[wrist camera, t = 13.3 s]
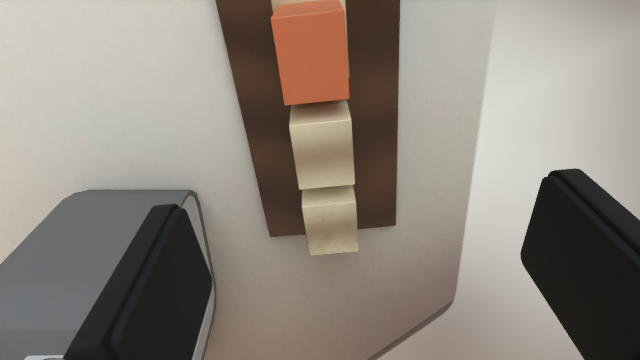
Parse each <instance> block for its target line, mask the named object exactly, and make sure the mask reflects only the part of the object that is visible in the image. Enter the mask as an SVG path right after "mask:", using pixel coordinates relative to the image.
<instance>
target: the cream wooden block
mask: <svg viewBox="0 0 640 360" xmlns="http://www.w3.org/2000/svg"><path fill="white" fill-rule="evenodd" d="M289 130H290V136H291V142H292V148H293V155H294V161H295V167H296V174H297V180H298V186H299V190H302V189H312V188H322V187H333V186H343V185H353V184H355V174H354V156H353V138H352V121H351V116H350V112H349V108H348V104H347V100H346V99H343V100H333V101H324V102H314V103H305V104H295V105H291V112H290V122H289Z"/></svg>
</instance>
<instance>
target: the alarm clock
mask: <svg viewBox="0 0 640 360" xmlns="http://www.w3.org/2000/svg"><path fill="white" fill-rule="evenodd" d="M164 204H178V205H179V207H180V209H181V208H184V209H186V211H187V213H188V215H189V218H190V221H191V223H192V226H193V229H194V231H195V234H196V237H197V239H198V242H199V245H200V247H201V250H202V252H203V255H204V258H205V260H206V263H207V266H208V268H209V271H210V274H211V277H212V291H211V294H210V298H209V301H208V305H207V308H206V312H205V315H204V319H203V322H202V326H201V329H200V333H199V336H198V340H197V343H196V347H195V350H194V354H193V358H192V360H203V359H204V355H205V351H206V347H207V343H208V339H209V335H210V331H211V328H212V324H213V319H214V313H215V306H216V287H215V279H214V274H213V269H212V264H211V259H210V254H209V249H208V244H207V239H206V234H205V229H204V223H203V218H202V213H201V208H200V203H199V200H198V198H197V195H196V193H195V192H193V191H191V190H87V191H83V192H78V193H74V194H72V195H71V196H69V197H67V198H65V199H63V200H62V201H61V202H60V203H59V204H58V205H57V206H56V207H55V208H54V210H53V211H52V212H51V213H50V214H49V215H48V216H47V217H46V218H45V219H44V220H43V221H42V222H41V223H40V224H39V225H38V226H37V227H36V228H35V229H34V230H33V231H32V232H31V233H30V234H29V235H28V236H27V238H26V239H25V240H24V241H23V242H22V243H21V244H20V245H19V246H18V247H17V248H16V249H15V250H14V251H13V252H12V253H11V254H10V255H9V256H8V257H7V258H6V259H5V260H4V261H3V262H2V263H1V264H0V360H43V359H46V358H63V356H64V354H65V353H66V351H67V349H68V348H69V346H70V344H71V342H72V341H73V339H74V337H75V336H76V334H77V332H78V330H79V329H80V327H81V325H82V324H83V322H84V320H85V319H86V317H87V315H88V314H89V312H90V310H91V309H92V307H93V305H94V304H95V302H96V300H97V299H98V297H99V295H100V293H101V292H102V290H103V288H104V287H105V285H106V283H107V282H108V280H109V278H110V277H111V275H112V273H113V272H114V270H115V268H116V267H117V265H118V263H119V262H120V260H121V258H122V256H123V255H124V253H125V251H126V250H127V248H128V246H129V245H130V243H131V241H132V240H133V238H134V236H135V235H136V233H137V231H138V230H139V228H140V226H141V225H142V223H143V221H144V219H145V218H146V216H147V214H148V213H149V211H150V209H151V208H152V207H153V206H155V205H164Z"/></svg>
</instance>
